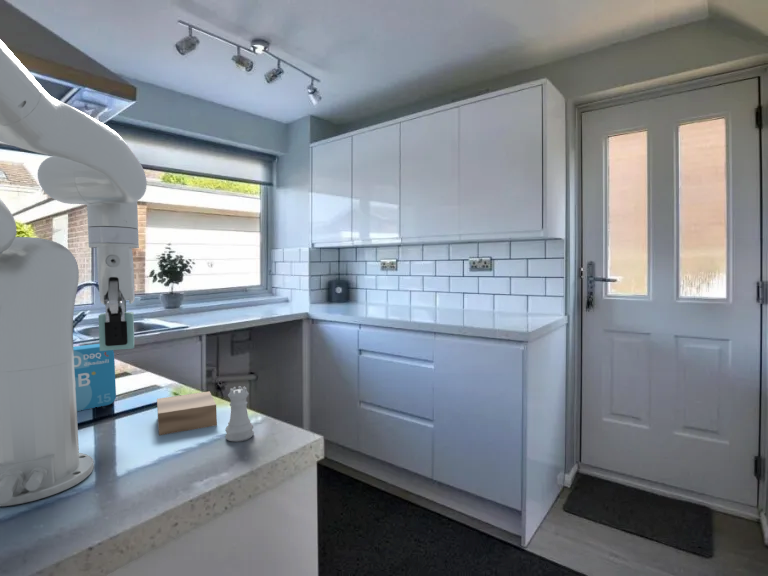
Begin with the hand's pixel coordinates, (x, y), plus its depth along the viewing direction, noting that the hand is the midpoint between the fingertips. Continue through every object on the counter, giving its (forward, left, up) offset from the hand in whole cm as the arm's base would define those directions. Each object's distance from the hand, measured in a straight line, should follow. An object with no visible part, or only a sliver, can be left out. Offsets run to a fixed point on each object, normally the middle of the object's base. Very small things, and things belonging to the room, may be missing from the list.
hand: (117, 341), depth 78 cm
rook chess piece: (-17, -17, -15) cm, 29 cm away
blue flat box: (+14, +8, -15) cm, 21 cm away
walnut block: (-5, -10, -15) cm, 19 cm away
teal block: (0, 0, -1) cm, 1 cm away
